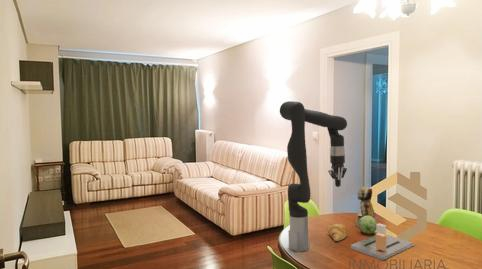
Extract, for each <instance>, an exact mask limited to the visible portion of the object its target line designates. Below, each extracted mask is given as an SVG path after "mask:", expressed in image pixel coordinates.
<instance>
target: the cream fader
mask: <svg viewBox="0 0 482 269" xmlns="http://www.w3.org/2000/svg"><path fill="white" fill-rule="evenodd" d="M377 233H380V234H384V235H387V225H386V224H382V223H379V222H377V224H376V231H375V235H376V234H377Z"/></svg>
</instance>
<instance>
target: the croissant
mask: <svg viewBox="0 0 482 269" xmlns="http://www.w3.org/2000/svg"><path fill="white" fill-rule="evenodd" d="M327 232H328V234H329V236H330V237H331V238H332V239H333V240H334V242H339V241H342V240H344V239H345V238H347V236H348V230H347V228H346V226H345V225H343V224H342V223H340V222H339V223H338V222H337V223H334V224H331V225H330V226H328V229H327Z"/></svg>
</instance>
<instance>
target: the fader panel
mask: <svg viewBox="0 0 482 269" xmlns="http://www.w3.org/2000/svg"><path fill="white" fill-rule="evenodd" d="M413 246H414V242H412V241H409V240H406V239H402V238H398V237H395V236H392V235H389V234H386V250H384V251H382V250H379V249H376V234H374V235H372V236H370V237H368V238H365V239H363V240H360V241H357V242H355V243H353V244H350V250H353V251H356V252H358V253H361V254H365V255H367V256H370V257H373V258H375V259H378V260H381V261H385V259H386V260H387V258H388V259H390V258H392V257H393V255H394V256H396V255H397V253H398V254H400V253H402V252H403V251H406V250H408V249H411V248H412V247H413ZM395 254H396V255H395ZM391 256H392V257H391ZM389 257H390V258H389Z"/></svg>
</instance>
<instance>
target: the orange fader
mask: <svg viewBox="0 0 482 269" xmlns="http://www.w3.org/2000/svg"><path fill="white" fill-rule="evenodd" d="M375 235H376V249H379V250H382V251H384V250H386V235H387V234H386V235H384V234H380V233H377V234H376V233H375Z"/></svg>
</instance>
